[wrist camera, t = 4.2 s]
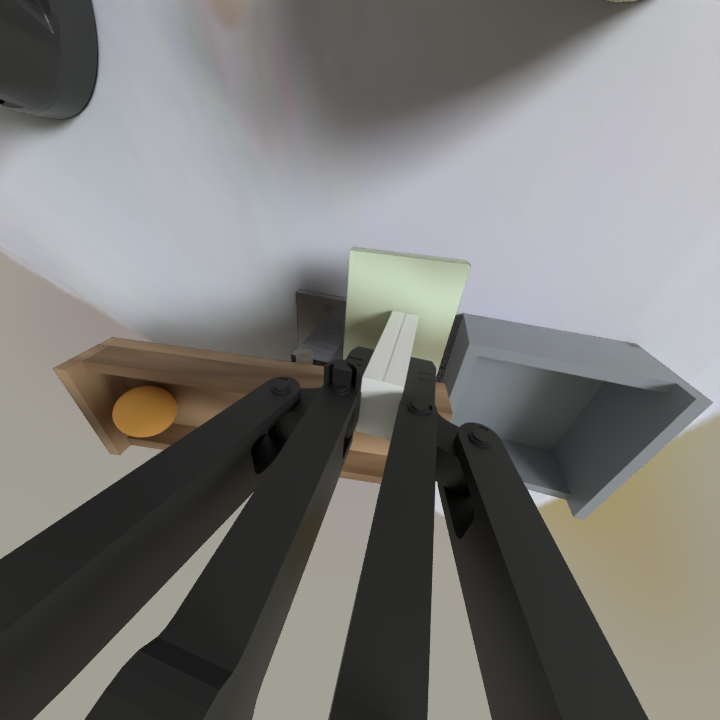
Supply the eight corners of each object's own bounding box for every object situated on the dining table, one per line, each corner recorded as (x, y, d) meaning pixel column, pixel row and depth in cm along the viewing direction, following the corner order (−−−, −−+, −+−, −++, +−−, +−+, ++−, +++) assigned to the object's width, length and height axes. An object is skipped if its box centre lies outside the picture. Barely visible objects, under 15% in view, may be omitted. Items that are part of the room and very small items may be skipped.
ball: (112, 394, 19) (86, 431, 16) (150, 367, 19) (130, 400, 16) (158, 418, 22) (143, 455, 19) (193, 394, 21) (182, 428, 18)
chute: (73, 209, 16) (-49, 217, 11) (479, 257, 15) (515, 286, 10) (162, 411, 25) (113, 458, 21) (417, 449, 24) (422, 507, 20)
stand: (299, 289, 25) (257, 318, 19) (382, 304, 24) (363, 339, 18) (303, 387, 32) (272, 430, 26) (368, 403, 30) (351, 452, 25)
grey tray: (463, 313, 23) (471, 354, 17) (636, 343, 20) (713, 402, 15) (428, 421, 30) (425, 475, 24) (553, 451, 28) (583, 519, 22)
